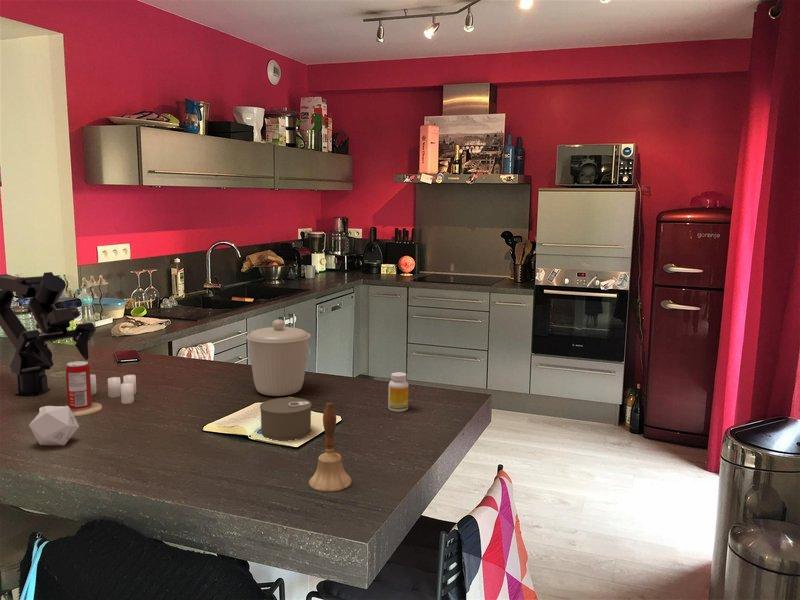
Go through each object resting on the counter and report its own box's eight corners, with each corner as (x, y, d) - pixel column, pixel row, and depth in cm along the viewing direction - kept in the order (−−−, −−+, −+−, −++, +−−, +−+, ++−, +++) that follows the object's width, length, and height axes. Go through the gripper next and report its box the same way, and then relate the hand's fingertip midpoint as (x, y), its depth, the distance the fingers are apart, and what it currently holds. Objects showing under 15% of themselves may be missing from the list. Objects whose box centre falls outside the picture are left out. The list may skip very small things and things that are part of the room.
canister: (234, 395, 184) (232, 322, 181) (269, 380, 200) (269, 312, 197) (289, 404, 177) (289, 327, 174) (322, 387, 194) (322, 317, 191)
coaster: (50, 415, 164) (50, 413, 164) (72, 403, 174) (71, 401, 174) (89, 416, 164) (89, 414, 164) (108, 404, 174) (108, 402, 173)
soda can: (84, 403, 173) (82, 358, 171) (96, 407, 170) (93, 361, 168) (63, 408, 168) (61, 362, 166) (75, 412, 165) (72, 366, 163)
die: (46, 456, 140) (75, 416, 142) (13, 433, 141) (43, 394, 143) (65, 456, 148) (93, 418, 150) (34, 434, 149) (62, 397, 151)
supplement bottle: (385, 406, 176) (385, 372, 175) (404, 405, 178) (404, 370, 176) (392, 412, 171) (392, 377, 170) (411, 411, 173) (411, 375, 171)
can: (255, 427, 158) (255, 400, 157) (303, 421, 163) (303, 395, 162) (266, 444, 147) (266, 415, 146) (318, 437, 152) (318, 409, 151)
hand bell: (300, 487, 125) (300, 406, 123) (321, 471, 133) (321, 395, 130) (340, 495, 122) (340, 412, 120) (358, 478, 130) (359, 400, 127)
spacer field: (16, 429, 154) (15, 409, 153) (89, 390, 187) (88, 373, 186) (88, 431, 153) (87, 411, 152) (148, 392, 186) (148, 375, 185)
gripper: (18, 300, 162) (43, 350, 158) (90, 292, 177) (115, 338, 173) (5, 327, 168) (29, 376, 163) (76, 317, 183) (100, 362, 178)
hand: (70, 362), depth 169 cm, fingers open, 9 cm apart
